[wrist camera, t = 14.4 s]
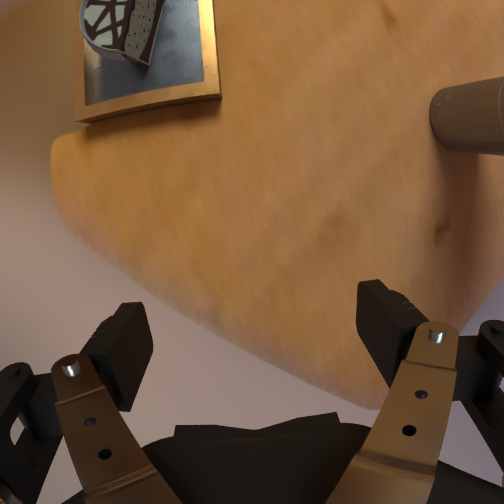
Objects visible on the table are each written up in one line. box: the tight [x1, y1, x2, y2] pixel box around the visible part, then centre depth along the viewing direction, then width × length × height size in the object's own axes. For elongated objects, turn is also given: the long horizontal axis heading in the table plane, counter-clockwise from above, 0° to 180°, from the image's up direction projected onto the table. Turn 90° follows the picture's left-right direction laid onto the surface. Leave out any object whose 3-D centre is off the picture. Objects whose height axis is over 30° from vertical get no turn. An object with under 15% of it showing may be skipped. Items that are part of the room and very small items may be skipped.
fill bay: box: [73, 0, 222, 123], centre depth 30 cm, size 17×21×4 cm
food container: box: [79, 0, 166, 66], centre depth 25 cm, size 12×6×10 cm, turn 171°
